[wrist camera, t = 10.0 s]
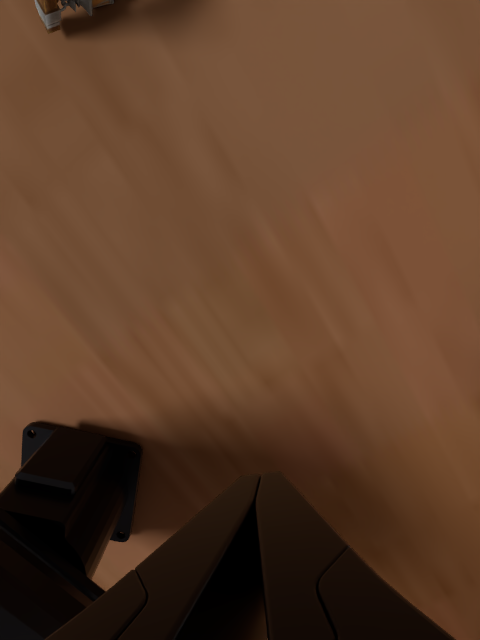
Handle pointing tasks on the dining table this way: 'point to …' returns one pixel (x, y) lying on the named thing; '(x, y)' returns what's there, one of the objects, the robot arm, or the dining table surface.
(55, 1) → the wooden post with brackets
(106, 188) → the dining table surface
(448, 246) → the dining table surface
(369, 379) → the dining table surface
